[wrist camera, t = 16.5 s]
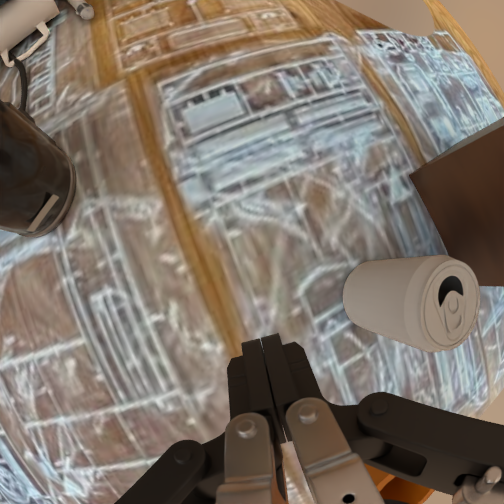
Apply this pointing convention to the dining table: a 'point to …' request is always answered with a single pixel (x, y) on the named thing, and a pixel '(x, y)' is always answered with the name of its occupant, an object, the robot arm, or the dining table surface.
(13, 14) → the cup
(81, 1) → the rocket model
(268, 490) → the robot arm
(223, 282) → the dining table surface
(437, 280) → the beverage can
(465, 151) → the box
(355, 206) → the dining table surface
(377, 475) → the mug
